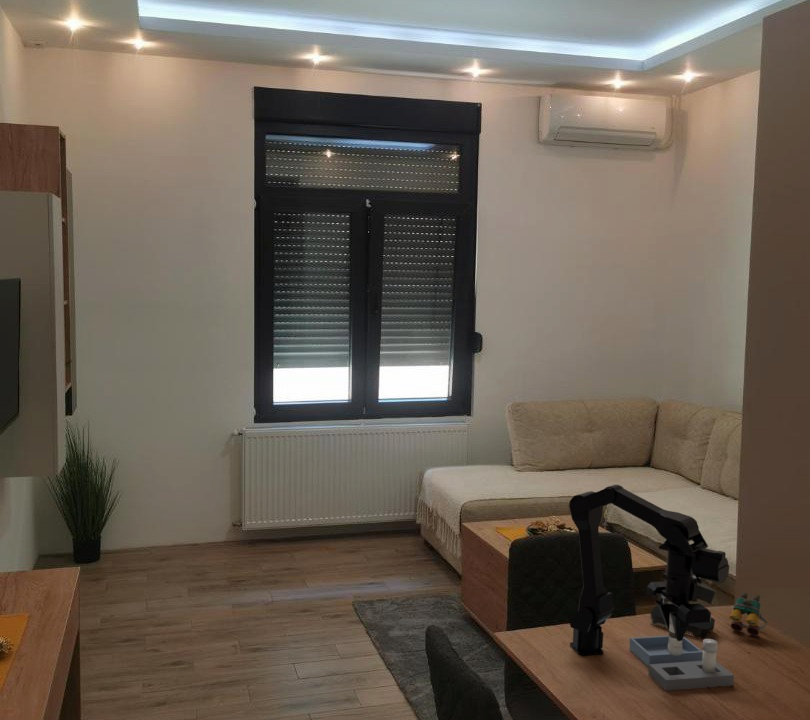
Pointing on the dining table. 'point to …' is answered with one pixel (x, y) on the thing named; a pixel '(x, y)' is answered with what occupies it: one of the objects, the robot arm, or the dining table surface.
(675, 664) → the fuse holder
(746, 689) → the dining table surface
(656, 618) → the black sponge
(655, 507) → the robot arm
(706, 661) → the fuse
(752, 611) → the binoculars
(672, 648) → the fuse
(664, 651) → the parts tray
